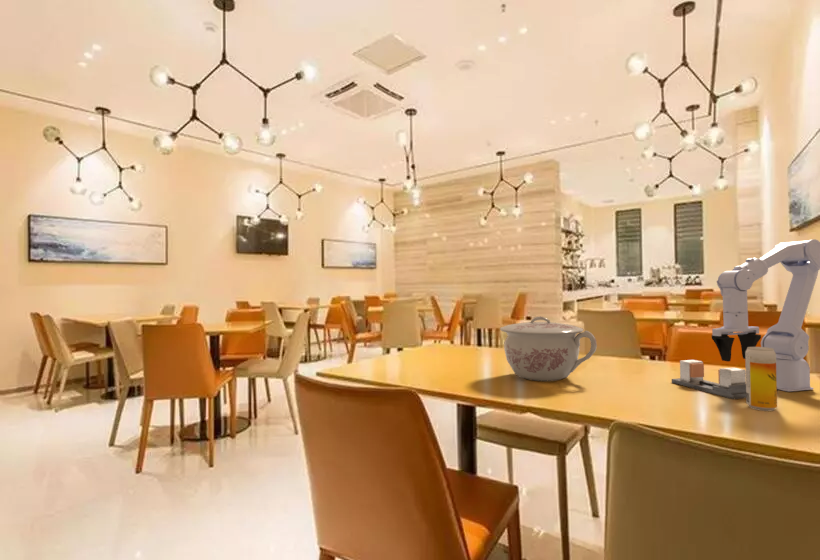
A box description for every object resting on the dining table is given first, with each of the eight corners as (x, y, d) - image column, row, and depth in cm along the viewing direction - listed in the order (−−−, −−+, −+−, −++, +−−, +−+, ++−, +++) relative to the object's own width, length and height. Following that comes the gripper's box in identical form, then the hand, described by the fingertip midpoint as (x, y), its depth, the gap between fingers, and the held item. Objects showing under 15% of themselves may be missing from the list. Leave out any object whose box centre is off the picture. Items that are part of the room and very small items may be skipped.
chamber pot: (486, 372, 162) (485, 315, 163) (552, 367, 171) (550, 312, 171) (529, 390, 136) (528, 321, 136) (604, 382, 144) (603, 317, 144)
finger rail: (671, 382, 142) (671, 359, 142) (692, 381, 144) (692, 358, 144) (733, 399, 121) (732, 372, 122) (757, 397, 123) (756, 370, 123)
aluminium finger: (745, 391, 125) (745, 369, 125) (731, 392, 124) (730, 370, 124) (731, 388, 129) (731, 367, 129) (717, 389, 128) (716, 368, 128)
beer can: (782, 412, 109) (781, 350, 110) (754, 411, 111) (753, 349, 111) (768, 405, 115) (767, 346, 115) (741, 404, 117) (740, 346, 117)
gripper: (742, 310, 134) (743, 356, 134) (702, 312, 131) (703, 359, 131) (765, 311, 128) (767, 360, 127) (724, 314, 124) (726, 363, 124)
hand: (736, 360), depth 129 cm, fingers open, 7 cm apart
